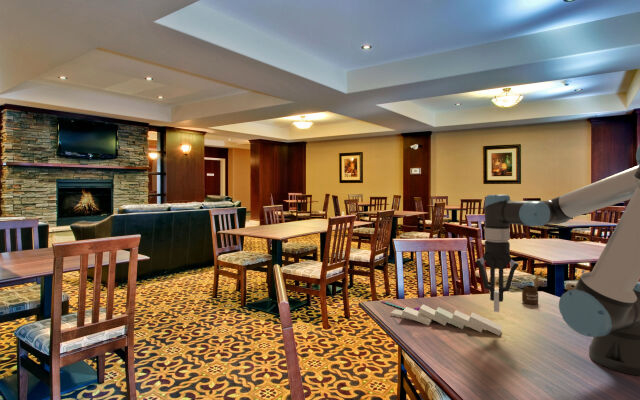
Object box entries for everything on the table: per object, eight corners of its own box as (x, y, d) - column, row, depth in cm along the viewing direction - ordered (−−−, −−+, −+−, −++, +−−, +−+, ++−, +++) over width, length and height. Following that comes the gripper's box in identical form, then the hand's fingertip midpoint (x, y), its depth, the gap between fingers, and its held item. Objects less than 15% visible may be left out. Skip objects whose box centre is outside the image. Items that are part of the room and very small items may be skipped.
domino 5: (484, 323, 122) (455, 309, 127) (483, 328, 118) (453, 314, 122) (482, 327, 122) (454, 314, 127) (481, 332, 118) (451, 318, 123)
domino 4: (465, 319, 125) (438, 306, 130) (464, 324, 121) (435, 310, 125) (464, 324, 126) (436, 311, 130) (462, 329, 121) (434, 315, 126)
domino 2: (432, 316, 129) (406, 306, 133) (430, 321, 124) (402, 310, 129) (431, 321, 129) (405, 311, 134) (429, 325, 125) (401, 315, 129)
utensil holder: (519, 300, 153) (519, 273, 152) (533, 300, 152) (533, 273, 152) (527, 305, 147) (527, 276, 146) (542, 305, 147) (542, 276, 146)
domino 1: (420, 313, 134) (395, 309, 139) (416, 317, 130) (390, 312, 135) (420, 318, 134) (395, 313, 139) (416, 322, 130) (390, 317, 135)
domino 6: (502, 326, 119) (472, 312, 124) (501, 331, 115) (470, 316, 120) (500, 330, 120) (470, 316, 124) (499, 335, 115) (468, 321, 120)
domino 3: (449, 317, 128) (423, 304, 133) (446, 321, 124) (419, 307, 128) (447, 321, 129) (421, 308, 133) (445, 325, 124) (418, 312, 129)
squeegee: (453, 313, 134) (436, 318, 128) (453, 317, 134) (436, 323, 128) (397, 296, 157) (380, 300, 152) (397, 300, 157) (380, 304, 152)
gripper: (519, 240, 117) (519, 310, 118) (477, 238, 124) (477, 304, 125) (519, 243, 111) (518, 317, 111) (474, 240, 118) (474, 310, 118)
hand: (496, 310), depth 118 cm, fingers closed
